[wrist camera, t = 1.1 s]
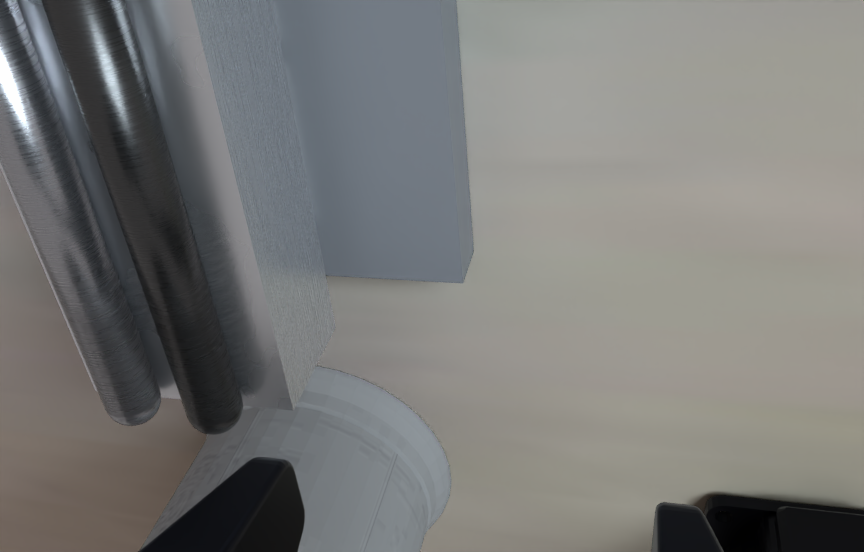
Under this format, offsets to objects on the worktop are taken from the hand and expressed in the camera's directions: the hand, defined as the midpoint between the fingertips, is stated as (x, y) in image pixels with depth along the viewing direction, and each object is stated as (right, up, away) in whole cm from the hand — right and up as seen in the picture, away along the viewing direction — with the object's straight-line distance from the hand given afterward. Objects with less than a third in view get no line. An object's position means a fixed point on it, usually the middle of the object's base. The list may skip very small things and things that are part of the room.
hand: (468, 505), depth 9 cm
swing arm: (-6, +8, +9) cm, 13 cm away
